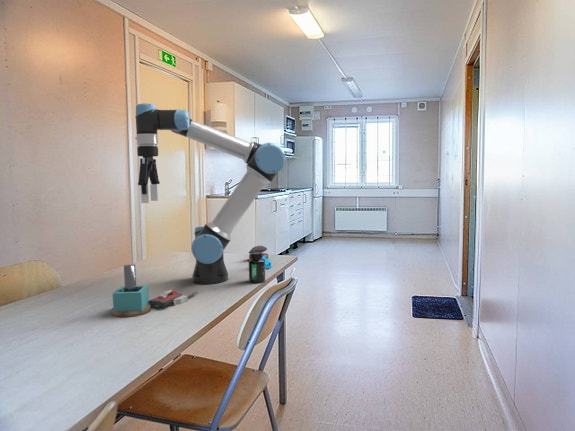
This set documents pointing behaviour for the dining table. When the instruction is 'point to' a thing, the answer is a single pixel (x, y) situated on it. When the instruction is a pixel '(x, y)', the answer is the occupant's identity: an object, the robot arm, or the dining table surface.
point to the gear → (267, 262)
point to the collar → (130, 299)
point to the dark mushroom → (258, 250)
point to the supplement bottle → (256, 268)
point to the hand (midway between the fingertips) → (150, 201)
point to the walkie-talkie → (169, 299)
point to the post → (130, 278)
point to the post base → (132, 312)
